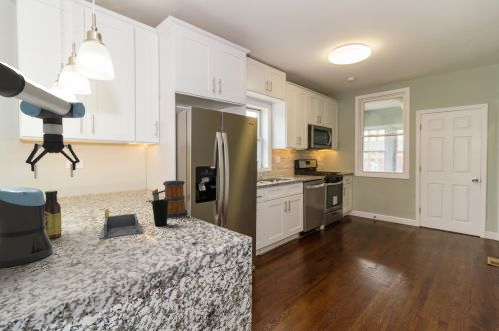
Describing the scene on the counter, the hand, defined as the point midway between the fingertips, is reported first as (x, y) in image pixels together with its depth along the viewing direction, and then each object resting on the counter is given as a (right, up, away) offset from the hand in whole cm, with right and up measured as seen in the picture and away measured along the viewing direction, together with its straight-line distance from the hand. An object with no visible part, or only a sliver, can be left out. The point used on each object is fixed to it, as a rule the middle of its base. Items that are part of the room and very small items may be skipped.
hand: (54, 177), depth 116 cm
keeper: (+36, -24, -7) cm, 44 cm away
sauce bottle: (+11, -25, -14) cm, 30 cm away
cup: (+51, -24, +1) cm, 56 cm away
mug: (+50, -23, +21) cm, 59 cm away
